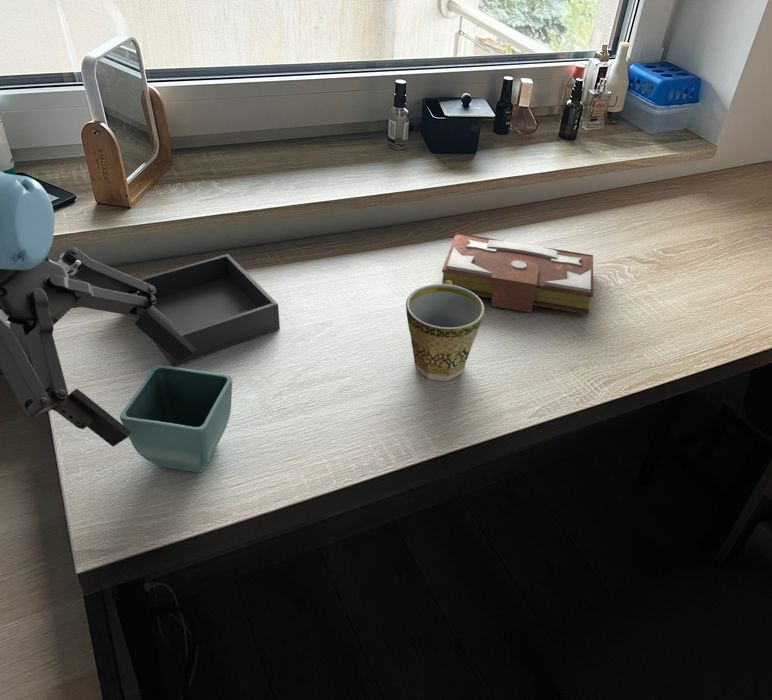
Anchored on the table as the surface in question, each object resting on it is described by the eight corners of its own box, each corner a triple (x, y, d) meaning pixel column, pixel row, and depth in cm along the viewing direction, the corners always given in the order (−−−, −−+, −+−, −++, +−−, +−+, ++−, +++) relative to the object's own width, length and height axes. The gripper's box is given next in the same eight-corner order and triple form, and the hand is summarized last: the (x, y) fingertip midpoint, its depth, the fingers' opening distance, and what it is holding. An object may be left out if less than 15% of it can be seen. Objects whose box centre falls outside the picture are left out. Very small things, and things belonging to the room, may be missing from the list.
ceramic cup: (474, 393, 94) (483, 332, 88) (398, 385, 94) (401, 324, 88) (478, 334, 105) (485, 275, 98) (409, 326, 104) (412, 268, 98)
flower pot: (241, 432, 85) (233, 374, 79) (213, 489, 78) (203, 430, 72) (167, 422, 85) (155, 363, 80) (133, 478, 78) (117, 418, 73)
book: (588, 276, 122) (594, 249, 119) (588, 321, 109) (594, 292, 106) (454, 254, 123) (457, 227, 120) (438, 296, 110) (441, 267, 107)
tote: (172, 367, 93) (167, 340, 90) (128, 308, 101) (122, 283, 99) (280, 329, 101) (278, 303, 98) (231, 278, 110) (228, 253, 107)
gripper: (-109, 302, 57) (110, 468, 65) (78, 173, 76) (228, 313, 85) (-142, 342, 61) (69, 495, 69) (44, 209, 80) (192, 340, 88)
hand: (157, 395), depth 77 cm, fingers open, 13 cm apart
